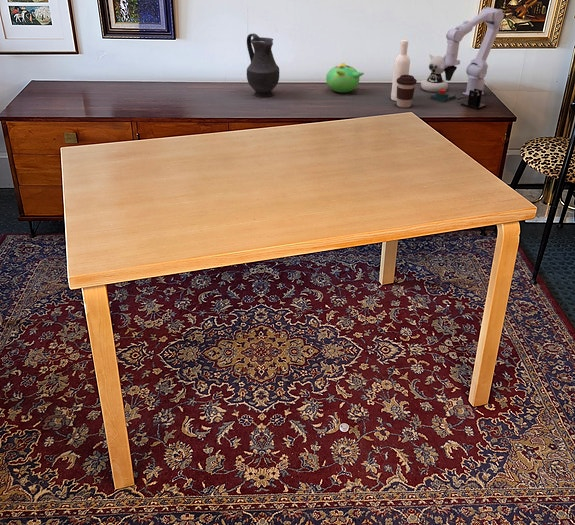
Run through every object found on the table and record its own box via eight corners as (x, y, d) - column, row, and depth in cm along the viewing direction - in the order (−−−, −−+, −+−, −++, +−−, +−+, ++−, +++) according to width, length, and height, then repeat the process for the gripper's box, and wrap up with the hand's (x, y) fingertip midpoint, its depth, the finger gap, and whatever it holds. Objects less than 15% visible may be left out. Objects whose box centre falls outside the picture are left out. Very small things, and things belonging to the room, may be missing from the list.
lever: (457, 101, 329) (456, 97, 329) (463, 99, 333) (462, 95, 332) (475, 96, 321) (474, 91, 320) (481, 94, 324) (480, 89, 324)
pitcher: (260, 101, 328) (260, 41, 312) (236, 92, 341) (234, 34, 325) (285, 95, 337) (286, 36, 322) (261, 86, 351) (260, 29, 335)
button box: (442, 94, 343) (443, 88, 341) (455, 98, 338) (456, 91, 336) (430, 98, 336) (431, 92, 334) (443, 102, 331) (444, 95, 330)
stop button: (441, 91, 337) (441, 88, 336) (447, 93, 335) (447, 90, 334) (437, 93, 335) (437, 89, 334) (443, 94, 332) (443, 91, 331)
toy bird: (351, 86, 354) (353, 59, 346) (364, 95, 340) (366, 67, 333) (321, 88, 349) (322, 61, 341) (332, 97, 335) (334, 69, 328)
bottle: (395, 95, 340) (401, 37, 324) (408, 98, 336) (415, 40, 320) (388, 99, 334) (394, 40, 318) (401, 102, 330) (408, 42, 315)
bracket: (460, 105, 327) (463, 89, 323) (469, 102, 332) (471, 86, 328) (477, 110, 321) (480, 94, 317) (486, 107, 326) (489, 90, 322)
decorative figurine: (415, 89, 350) (419, 52, 340) (428, 84, 360) (433, 48, 349) (439, 95, 342) (444, 57, 332) (452, 89, 352) (457, 52, 341)
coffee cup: (412, 103, 329) (416, 74, 321) (414, 109, 321) (417, 79, 313) (393, 102, 330) (396, 73, 322) (394, 108, 321) (397, 78, 314)
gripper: (450, 57, 317) (446, 84, 324) (466, 52, 326) (462, 79, 333) (438, 54, 322) (435, 81, 329) (455, 50, 330) (451, 76, 337)
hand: (448, 80), depth 331 cm, fingers closed
